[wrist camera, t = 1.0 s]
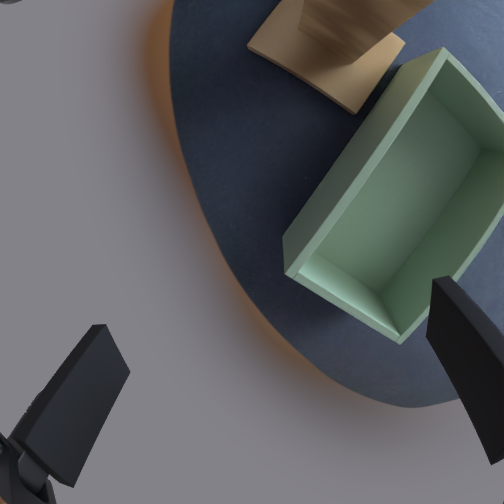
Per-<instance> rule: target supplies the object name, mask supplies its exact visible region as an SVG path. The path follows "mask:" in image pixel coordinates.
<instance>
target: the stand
mask: <svg viewBox="0 0 504 504" xmlns="http://www.w3.org/2000/svg"><path fill="white" fill-rule="evenodd" d="M433 1H435V0H282V1H281V2H280V3H279V4H278V5H277V7H276V8H275V9H274V10H273V12H272V13H271V14H270V15H269V17H268V18H267V19H266V20H265V22H264V23H263V24H262V25H261V27H260V28H259V29H258V31H257V32H256V33H255V35H254V36H253V37H252V39H251V40H250V41H249V43H248V44H247V47H248V49H249V50H251V51H253V52H254V53H256V54H258V55H260V56H262V57H264V58H265V59H267V60H269V61H271V62H272V63H274V64H276V65H278V66H279V67H281V68H283V69H284V70H286V71H288V72H289V73H291V74H293V75H294V76H296V77H298V78H299V79H301V80H302V81H304V82H306V83H307V84H309V85H310V86H312V87H313V88H315V89H316V90H318V91H319V92H321V93H322V94H324V95H325V96H327V97H328V98H330V99H331V100H332V101H334V102H335V103H337V104H338V105H339V106H341V107H342V108H344V109H345V110H346V111H348V112H349V113H350V114H352V115H355V114H357V113H358V111H359V110H360V108H361V107H362V105H363V104H364V103H365V101H366V100H367V98H368V97H369V95H370V94H371V92H372V91H373V90H374V88H375V87H376V85H377V84H378V82H379V81H380V79H381V78H382V77H383V75H384V74H385V72H386V71H387V69H388V68H389V66H390V65H391V63H392V62H393V61H394V59H395V58H396V56H397V55H398V53H399V52H400V50H401V49H402V47H403V46H404V45H405V42H404V41H403V40H401V39H400V38H399V37H397V36H396V35H395V34H394V33H392V32H393V31H394V30H395V29H397V28H398V27H399V26H401V25H402V24H403V23H405V22H406V21H407V20H409V19H410V18H411V17H413V16H414V15H415V14H417V13H418V12H419V11H421V10H422V9H424V8H425V7H426V6H428V5H429V4H431V3H432V2H433Z"/></svg>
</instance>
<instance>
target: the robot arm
mask: <svg viewBox="0 0 504 504" xmlns="http://www.w3.org/2000/svg"><path fill="white" fill-rule="evenodd" d="M426 338H427V340H428V341H429V343H430V345H431V346H432V348H433V350H434V351H435V353H436V355H437V357H438V358H439V360H440V362H441V364H442V365H443V367H444V369H445V371H446V373H447V374H448V376H449V378H450V380H451V382H452V384H453V386H454V387H455V389H456V391H457V393H458V395H459V397H460V399H461V401H462V403H463V405H464V407H465V409H466V411H467V413H468V415H469V417H470V419H471V421H472V423H473V425H474V427H475V430H476V432H477V434H478V436H479V438H480V441H481V443H482V445H483V447H484V450H485V452H486V454H487V457H488V459H489V462H490V464H491V465H493V464H495V463H497V462H499V461H500V460H502V459H504V335H503V334H502V332H501V331H500V330H499V329H498V328H497V327H496V325H495V324H494V323H493V322H492V321H491V320H490V319H489V317H488V316H487V315H486V314H485V313H484V312H483V311H482V310H481V308H480V307H479V306H478V305H477V304H476V303H475V302H474V301H473V300H472V299H471V298H470V297H469V295H468V294H467V293H466V292H465V291H464V290H463V289H462V288H461V287H460V286H459V285H458V284H457V283H456V282H455V281H454V280H453V279H452V278H451V277H450V276H449V275H447V276H443V277H439V278H434V279H432V290H431V300H430V309H429V318H428V325H427V332H426ZM129 374H130V370H129V368H128V367H127V365H126V363H125V361H124V359H123V357H122V355H121V353H120V352H119V350H118V348H117V346H116V344H115V342H114V340H113V338H112V336H111V334H110V332H109V330H108V327H107V325H106V324H100V325H92V326H91V328H90V329H89V330H88V331H87V333H86V334H85V335H84V336H83V338H82V339H81V340H80V342H79V343H78V344H77V345H76V347H75V348H74V349H73V350H72V352H71V353H70V354H69V356H68V357H67V358H66V360H65V361H64V362H63V364H62V365H61V366H60V367H59V369H58V370H57V372H56V373H55V374H54V376H53V377H52V378H51V380H50V381H49V382H48V384H47V385H46V387H45V388H44V389H43V390H42V391H41V392H40V393H39V394H38V395H37V396H36V398H35V399H34V400H33V402H32V403H31V404H32V405H30V406H29V407H28V409H27V410H26V411H27V412H26V413H24V415H23V416H22V418H21V419H20V421H19V422H18V424H17V425H16V427H15V428H14V430H13V431H12V433H11V434H10V436H9V437H8V438H7V439H6V438H5V437H4V436H3V435H2V434H1V433H0V497H1V498H2V499H3V500H4V501H5V502H6V503H7V504H56V500H55V496H54V492H53V487H52V484H51V482H50V480H48V479H47V477H48V475H49V474H50V475H51V476H52V477H53V478H54V479H56V480H57V481H58V482H59V483H62V484H64V485H67V486H70V487H72V488H74V486H75V483H76V481H77V479H78V477H79V475H80V472H81V470H82V468H83V466H84V464H85V462H86V460H87V457H88V455H89V453H90V451H91V449H92V447H93V445H94V443H95V441H96V438H97V437H98V435H99V433H100V430H101V428H102V426H103V424H104V423H105V420H106V419H107V416H108V414H109V413H110V411H111V408H112V407H113V405H114V403H115V401H116V399H117V397H118V395H119V393H120V391H121V389H122V387H123V385H124V383H125V381H126V380H127V377H128V376H129ZM503 504H504V502H503Z"/></svg>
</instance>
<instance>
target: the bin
mask: <svg viewBox="0 0 504 504" xmlns="http://www.w3.org/2000/svg"><path fill="white" fill-rule="evenodd" d="M503 214H504V113H503V112H502V111H501V109H500V108H499V107H498V106H497V104H496V103H495V102H494V101H493V99H492V98H491V97H490V96H489V94H488V93H487V92H486V91H485V90H484V88H483V87H482V86H481V85H480V84H479V83H478V82H477V80H476V79H475V78H474V77H473V76H472V75H471V74H470V73H469V72H468V71H467V70H466V69H465V67H464V66H463V65H462V64H461V63H460V62H459V61H458V60H457V59H456V58H455V57H454V56H453V55H452V54H450V53H449V52H448V51H447V50H446V49H445V48H444V47H441V48H438V49H436V50H434V51H431V52H429V53H427V54H424V55H422V56H420V57H417V58H415V59H413V60H411V61H409V62H406V63H404V64H402V65H401V67H400V68H399V70H398V71H397V73H396V74H395V76H394V77H393V79H392V80H391V82H390V83H389V85H388V86H387V88H386V89H385V91H384V92H383V93H382V95H381V96H380V98H379V99H378V101H377V102H376V104H375V105H374V107H373V108H372V109H371V111H370V112H369V114H368V115H367V117H366V118H365V120H364V121H363V123H362V124H361V125H360V127H359V128H358V130H357V131H356V133H355V134H354V136H353V137H352V138H351V140H350V141H349V143H348V144H347V146H346V147H345V148H344V150H343V151H342V153H341V154H340V156H339V157H338V158H337V160H336V161H335V163H334V164H333V166H332V167H331V168H330V170H329V171H328V173H327V174H326V176H325V177H324V178H323V180H322V181H321V183H320V184H319V185H318V187H317V188H316V190H315V191H314V193H313V194H312V195H311V197H310V198H309V200H308V201H307V202H306V204H305V205H304V207H303V208H302V209H301V211H300V212H299V214H298V215H297V216H296V218H295V219H294V221H293V222H292V223H291V225H290V226H289V228H288V229H287V230H286V232H285V233H284V235H283V236H282V239H283V255H284V273H285V275H287V276H288V277H290V278H292V279H293V280H295V281H297V282H298V283H300V284H301V285H303V286H305V287H306V288H308V289H310V290H311V291H313V292H314V293H316V294H318V295H319V296H321V297H323V298H324V299H326V300H327V301H329V302H331V303H332V304H334V305H336V306H337V307H339V308H341V309H342V310H344V311H345V312H347V313H349V314H350V315H352V316H354V317H355V318H357V319H359V320H360V321H362V322H363V323H365V324H367V325H368V326H370V327H372V328H373V329H375V330H376V331H378V332H380V333H381V334H383V335H385V336H386V337H388V338H390V339H391V340H393V341H394V342H396V343H398V344H399V345H400V344H401V343H402V342H403V341H404V340H405V339H406V338H407V337H408V336H409V335H410V334H411V333H412V332H413V331H414V330H415V329H416V328H417V327H418V326H419V324H420V323H421V322H422V321H423V320H424V319H425V318H426V317H427V316H428V315H429V309H430V300H431V290H432V279H434V278H439V277H443V276H447V275H449V276H450V277H451V278H452V279H453V280H454V281H455V282H456V281H457V280H458V279H459V277H460V276H461V275H462V274H463V272H464V271H465V270H466V268H467V267H468V266H469V264H470V263H471V262H472V260H473V259H474V258H475V256H476V255H477V253H478V252H479V251H480V249H481V248H482V246H483V245H484V243H485V242H486V241H487V239H488V238H489V236H490V235H491V233H492V232H493V230H494V229H495V227H496V225H497V224H498V222H499V221H500V219H501V218H502V216H503Z"/></svg>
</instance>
